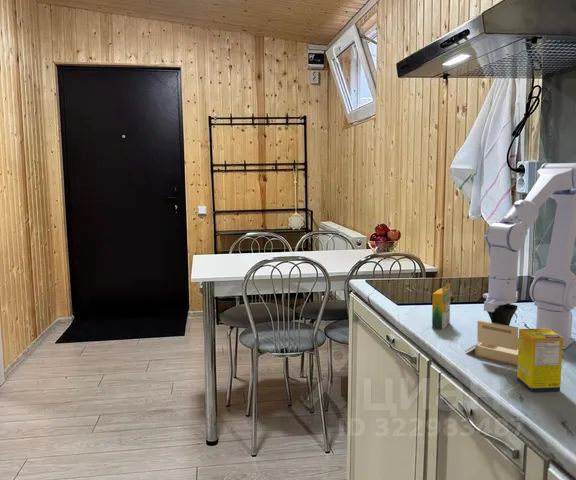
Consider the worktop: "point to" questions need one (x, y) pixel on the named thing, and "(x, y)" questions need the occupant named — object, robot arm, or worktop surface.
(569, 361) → the worktop surface
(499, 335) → the flap
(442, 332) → the worktop surface
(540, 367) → the supplement box
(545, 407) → the worktop surface
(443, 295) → the crayon box
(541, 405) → the worktop surface
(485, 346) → the carton
